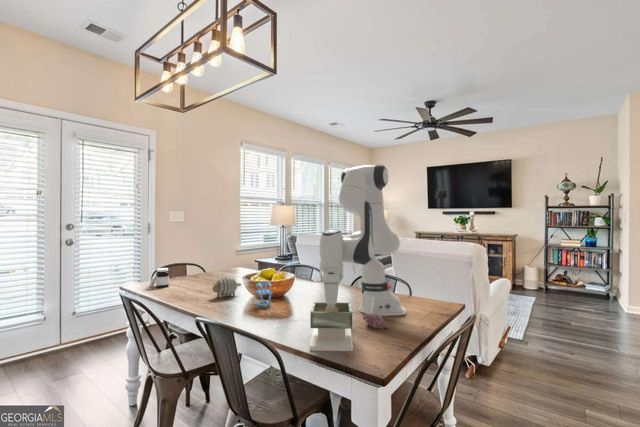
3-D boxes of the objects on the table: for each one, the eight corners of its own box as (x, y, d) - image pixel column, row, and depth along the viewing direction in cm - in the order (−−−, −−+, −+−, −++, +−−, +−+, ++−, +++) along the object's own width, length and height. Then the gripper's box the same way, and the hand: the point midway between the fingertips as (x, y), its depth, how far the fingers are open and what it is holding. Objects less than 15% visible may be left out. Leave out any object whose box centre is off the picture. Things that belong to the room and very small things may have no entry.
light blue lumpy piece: (260, 308, 167) (260, 284, 167) (253, 304, 174) (253, 281, 174) (274, 305, 172) (274, 282, 171) (267, 301, 178) (267, 279, 178)
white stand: (315, 320, 147) (315, 301, 147) (349, 321, 147) (349, 301, 147) (309, 350, 115) (309, 326, 115) (352, 351, 115) (352, 326, 115)
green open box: (315, 308, 145) (315, 294, 145) (348, 308, 144) (348, 295, 145) (310, 328, 116) (310, 312, 116) (352, 329, 115) (352, 312, 115)
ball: (338, 320, 125) (338, 307, 128) (338, 315, 121) (338, 302, 124) (325, 320, 125) (325, 307, 128) (324, 315, 121) (324, 302, 124)
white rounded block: (169, 287, 214) (169, 269, 214) (150, 289, 208) (150, 270, 208) (167, 283, 224) (167, 266, 224) (149, 285, 219) (149, 268, 219)
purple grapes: (364, 328, 142) (360, 315, 140) (370, 321, 145) (365, 308, 142) (384, 334, 135) (380, 320, 133) (389, 326, 138) (385, 313, 136)
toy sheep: (208, 297, 188) (208, 277, 188) (235, 292, 200) (235, 274, 200) (217, 301, 181) (217, 280, 180) (244, 295, 192) (244, 276, 192)
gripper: (324, 268, 134) (324, 302, 134) (321, 278, 113) (322, 319, 113) (339, 268, 133) (339, 302, 133) (340, 278, 113) (340, 319, 113)
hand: (331, 310), depth 123 cm, fingers open, 8 cm apart
